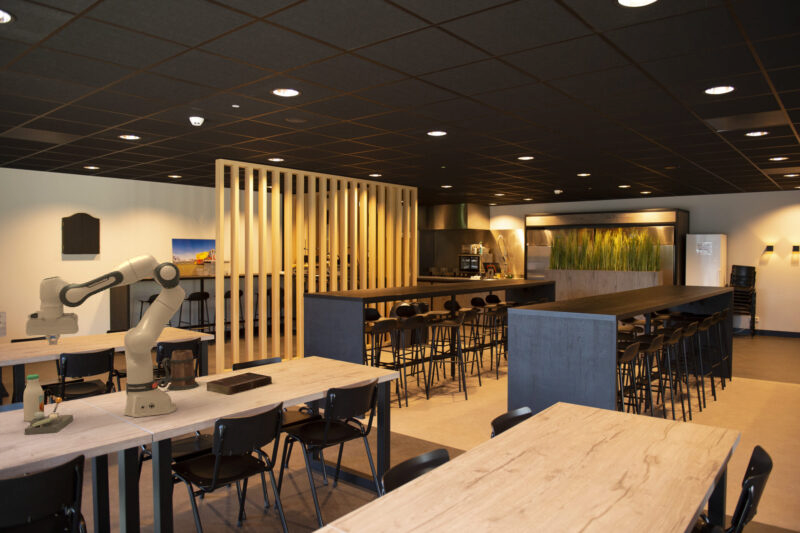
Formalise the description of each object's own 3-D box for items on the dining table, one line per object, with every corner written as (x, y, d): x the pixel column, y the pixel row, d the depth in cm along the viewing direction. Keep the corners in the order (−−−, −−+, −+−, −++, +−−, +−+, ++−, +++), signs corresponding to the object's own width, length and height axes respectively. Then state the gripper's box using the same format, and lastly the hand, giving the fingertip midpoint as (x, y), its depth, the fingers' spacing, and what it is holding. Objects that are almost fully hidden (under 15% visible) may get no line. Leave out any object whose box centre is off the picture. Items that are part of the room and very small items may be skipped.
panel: (73, 420, 252) (72, 410, 252) (56, 432, 235) (56, 421, 235) (43, 422, 250) (43, 412, 250) (24, 434, 232) (24, 423, 232)
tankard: (186, 382, 325) (185, 347, 324) (205, 385, 316) (204, 349, 315) (149, 391, 305) (148, 354, 304) (169, 394, 296) (168, 356, 295)
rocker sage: (52, 419, 238) (51, 417, 238) (49, 421, 234) (48, 419, 234) (36, 424, 236) (35, 422, 236) (32, 427, 233) (32, 424, 233)
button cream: (59, 419, 242) (59, 413, 242) (56, 421, 239) (56, 415, 239) (51, 419, 242) (50, 413, 242) (47, 421, 238) (47, 415, 238)
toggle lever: (58, 412, 248) (64, 397, 248) (56, 413, 245) (61, 399, 246) (52, 410, 247) (58, 395, 248) (49, 412, 245) (55, 397, 245)
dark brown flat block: (229, 396, 292) (229, 386, 292) (206, 391, 303) (206, 382, 303) (271, 384, 316) (271, 375, 316) (249, 380, 327) (249, 372, 327)
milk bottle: (34, 422, 250) (32, 377, 250) (19, 421, 252) (18, 376, 251) (48, 417, 258) (47, 373, 257) (34, 416, 259) (32, 373, 259)
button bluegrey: (45, 417, 241) (44, 411, 241) (41, 419, 238) (41, 413, 238) (36, 417, 241) (36, 411, 240) (33, 419, 237) (33, 413, 237)
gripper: (80, 311, 255) (81, 342, 255) (30, 313, 251) (31, 344, 251) (75, 313, 249) (76, 344, 249) (23, 315, 245) (24, 347, 245)
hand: (53, 344), depth 250 cm, fingers closed
